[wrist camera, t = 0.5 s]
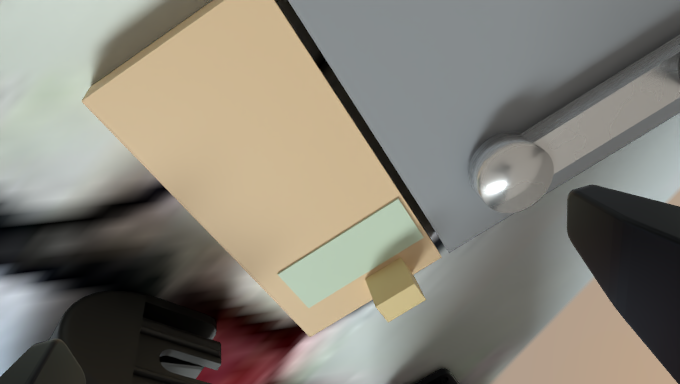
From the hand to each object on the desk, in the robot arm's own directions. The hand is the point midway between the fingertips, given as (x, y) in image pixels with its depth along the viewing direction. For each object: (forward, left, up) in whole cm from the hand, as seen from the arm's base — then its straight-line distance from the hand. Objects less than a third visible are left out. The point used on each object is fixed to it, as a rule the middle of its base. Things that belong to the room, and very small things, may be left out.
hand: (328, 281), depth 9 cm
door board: (-5, -5, -14) cm, 15 cm away
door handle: (-9, -10, -12) cm, 18 cm away
